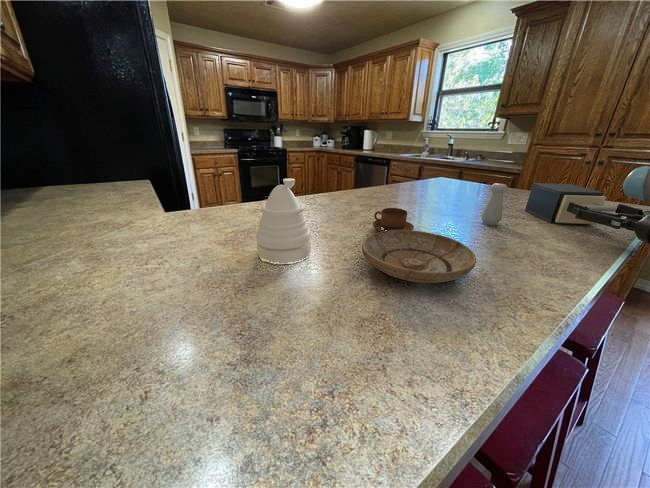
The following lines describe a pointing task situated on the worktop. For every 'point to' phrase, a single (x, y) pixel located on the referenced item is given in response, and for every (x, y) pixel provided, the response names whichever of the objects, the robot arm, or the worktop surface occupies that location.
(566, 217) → the drawer
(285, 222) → the honey pot
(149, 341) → the worktop surface
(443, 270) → the ceramic bowl
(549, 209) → the cabinet
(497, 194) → the salt shaker
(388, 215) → the cup and saucer
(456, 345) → the worktop surface
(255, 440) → the worktop surface
